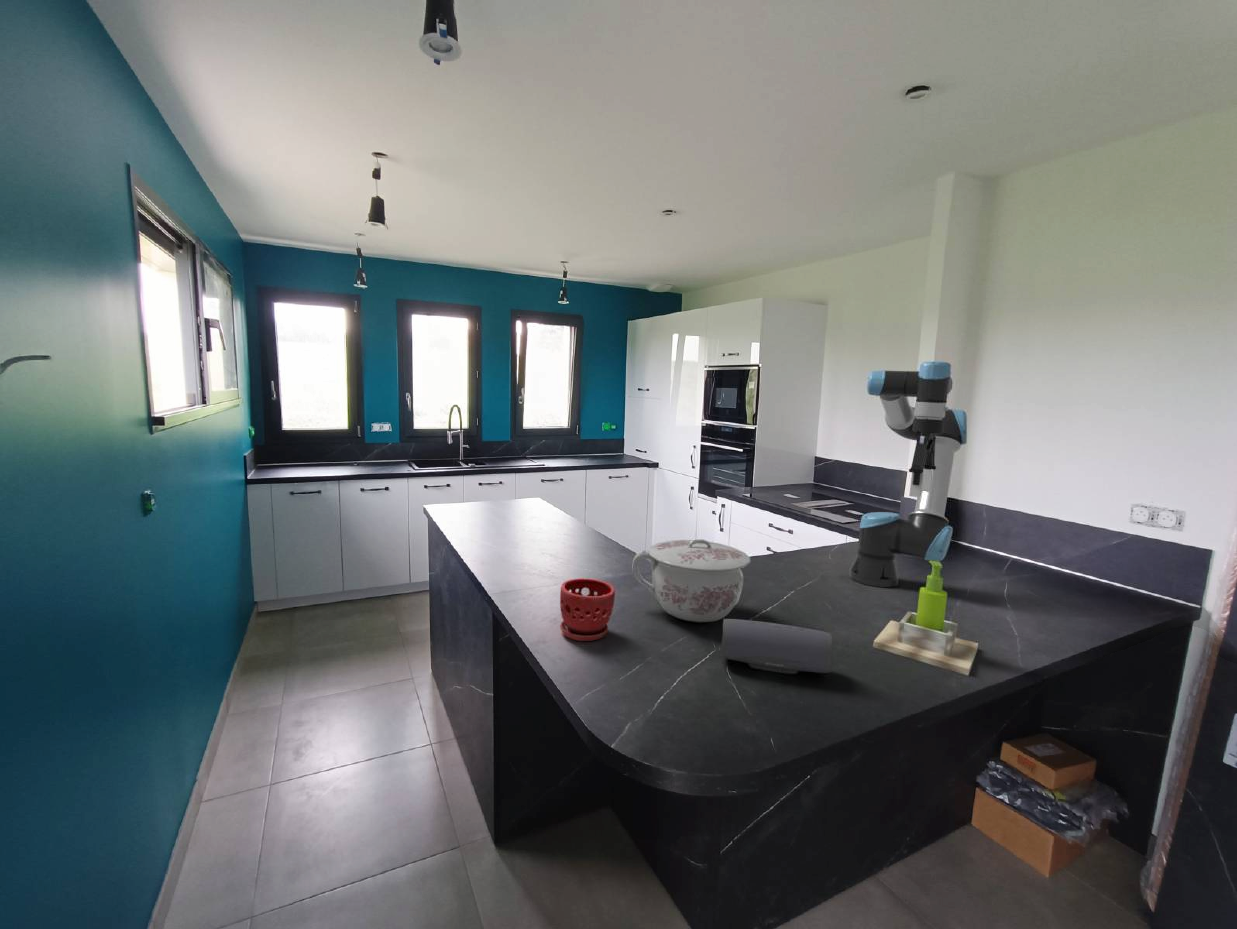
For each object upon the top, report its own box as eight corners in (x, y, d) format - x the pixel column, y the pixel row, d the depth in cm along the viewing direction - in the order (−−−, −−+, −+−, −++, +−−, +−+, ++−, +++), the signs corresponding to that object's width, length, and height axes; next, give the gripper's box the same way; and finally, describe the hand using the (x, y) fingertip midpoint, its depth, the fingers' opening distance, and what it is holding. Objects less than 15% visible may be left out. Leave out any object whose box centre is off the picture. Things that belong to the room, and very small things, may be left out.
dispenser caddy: (872, 646, 136) (875, 621, 135) (890, 625, 150) (893, 602, 149) (968, 675, 124) (972, 647, 123) (977, 649, 138) (981, 624, 137)
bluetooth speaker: (823, 666, 125) (828, 623, 123) (829, 686, 116) (834, 641, 114) (721, 650, 130) (724, 609, 128) (719, 669, 121) (722, 625, 119)
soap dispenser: (937, 638, 140) (946, 560, 137) (943, 649, 133) (953, 568, 131) (911, 633, 142) (920, 557, 139) (916, 644, 135) (925, 564, 133)
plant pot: (571, 649, 126) (573, 598, 125) (550, 626, 138) (552, 580, 136) (621, 640, 132) (624, 592, 131) (598, 619, 144) (600, 574, 142)
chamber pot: (764, 615, 153) (771, 542, 150) (708, 644, 133) (714, 560, 130) (682, 587, 172) (686, 522, 169) (622, 609, 151) (626, 535, 149)
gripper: (936, 419, 141) (926, 501, 144) (951, 419, 161) (942, 491, 164) (904, 417, 146) (895, 496, 149) (922, 417, 165) (914, 487, 168)
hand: (919, 494), depth 156 cm, fingers open, 13 cm apart
